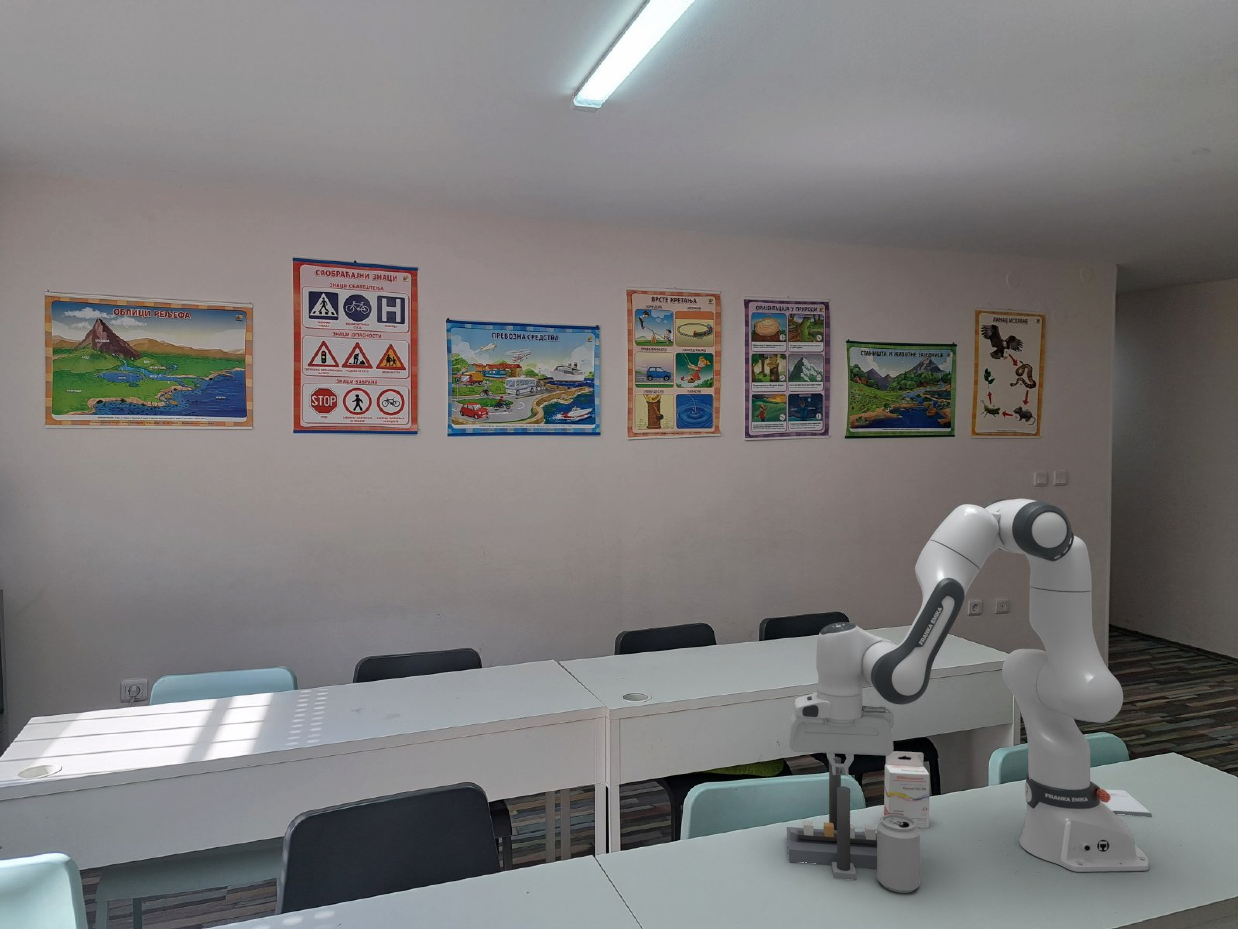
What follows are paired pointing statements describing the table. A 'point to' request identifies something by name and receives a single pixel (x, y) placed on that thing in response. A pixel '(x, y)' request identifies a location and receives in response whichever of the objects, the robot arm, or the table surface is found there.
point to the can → (898, 853)
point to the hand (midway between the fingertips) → (840, 774)
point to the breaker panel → (828, 850)
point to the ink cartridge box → (907, 787)
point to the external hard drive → (1125, 804)
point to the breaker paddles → (831, 836)
